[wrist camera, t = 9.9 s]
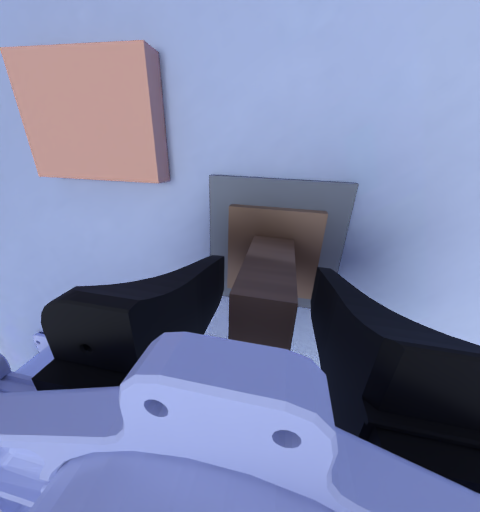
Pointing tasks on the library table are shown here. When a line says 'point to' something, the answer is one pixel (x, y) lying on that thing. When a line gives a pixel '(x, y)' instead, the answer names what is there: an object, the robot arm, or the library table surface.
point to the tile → (92, 109)
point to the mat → (283, 196)
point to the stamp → (270, 270)
